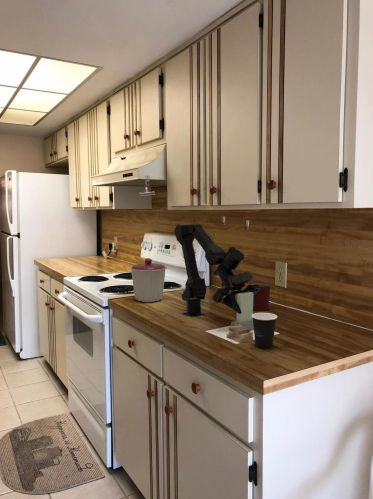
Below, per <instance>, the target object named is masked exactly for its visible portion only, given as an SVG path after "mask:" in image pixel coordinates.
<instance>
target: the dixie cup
mask: <svg viewBox="0 0 373 499" xmlns="http://www.w3.org/2000/svg"><path fill="white" fill-rule="evenodd" d="M252 317H253V327H254V337H255V340H254V346H255V347H256V348H258V349H261V350H264V349H265V350H269V349H272V348H273V346H274V341H275V340H274V338H275V335H274V332H276V331H275V330H276V324H277V323H276V322H277V318H278V315H276V314H274V313H269V312H255V313H253V314H252Z"/></svg>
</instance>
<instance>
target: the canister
mask: <svg viewBox="0 0 373 499" xmlns="http://www.w3.org/2000/svg"><path fill="white" fill-rule="evenodd" d="M152 262H153V260H152V258H149V257H146V258H145V259H144V263H143V262H142V263H136V264H134V265H132V266H131V267H130V268H129V269H130V270H131V271H130V272H131V278H132V279H131V280H132V286H133V292H134V293H133V294H134V298H135V299H136V301H138V302H140V301H142V302H141V303H155V301H156V302H159V301H161V300H162V298H163V295H164V290H165V289H164V288H165V279H166V270H167V266H166V265H164V264H162V263H157V262H156V263H154V262H153V263H152Z"/></svg>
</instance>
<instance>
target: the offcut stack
mask: <svg viewBox="0 0 373 499" xmlns="http://www.w3.org/2000/svg"><path fill="white" fill-rule="evenodd" d="M230 326H231V325H230ZM227 338H229V339H232V340H234V341H237V342H239V343H238V344H241V343H246V341H247V342H251V341H254V340H253V332H250V329H248V328H246V327H243V326H241V325H237V326H231V327H229V334H227ZM250 340H251V341H250Z"/></svg>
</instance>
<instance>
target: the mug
mask: <svg viewBox="0 0 373 499" xmlns="http://www.w3.org/2000/svg"><path fill="white" fill-rule="evenodd" d="M252 284H258V285H259V287H260V290H259V291H258V292H257V293H256V294H255V295H254V296H253V300H254V306H255V311H256V312H257V311H258V312H260V311H261V312H265V311H268V310H269V307H270V295H271V284H269V283H262V282H254V283H253V282H252Z"/></svg>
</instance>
